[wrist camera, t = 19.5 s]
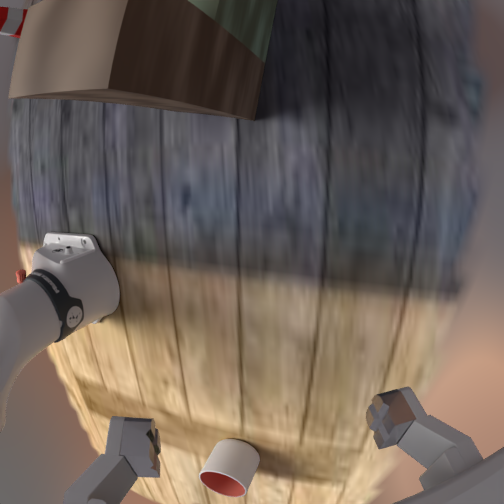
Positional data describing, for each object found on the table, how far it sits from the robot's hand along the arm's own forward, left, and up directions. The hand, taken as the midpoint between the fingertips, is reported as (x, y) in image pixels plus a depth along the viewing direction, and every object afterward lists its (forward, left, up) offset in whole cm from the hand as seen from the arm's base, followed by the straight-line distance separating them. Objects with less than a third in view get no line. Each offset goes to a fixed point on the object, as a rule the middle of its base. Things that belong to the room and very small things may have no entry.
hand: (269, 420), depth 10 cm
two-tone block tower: (-19, +20, -33) cm, 43 cm away
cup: (-5, -51, -33) cm, 61 cm away
